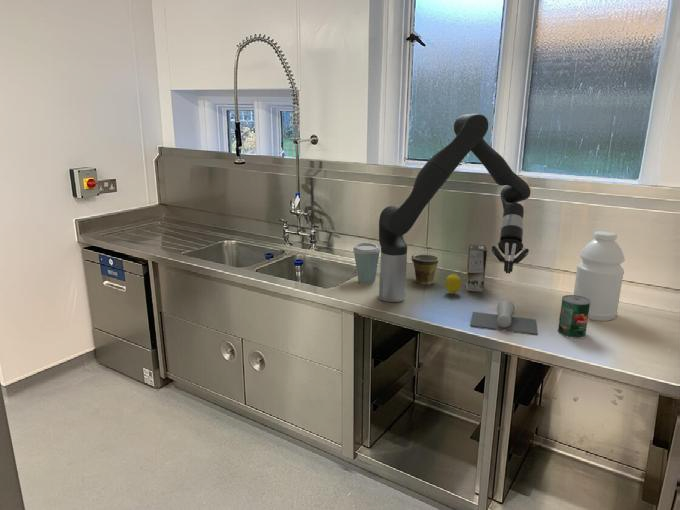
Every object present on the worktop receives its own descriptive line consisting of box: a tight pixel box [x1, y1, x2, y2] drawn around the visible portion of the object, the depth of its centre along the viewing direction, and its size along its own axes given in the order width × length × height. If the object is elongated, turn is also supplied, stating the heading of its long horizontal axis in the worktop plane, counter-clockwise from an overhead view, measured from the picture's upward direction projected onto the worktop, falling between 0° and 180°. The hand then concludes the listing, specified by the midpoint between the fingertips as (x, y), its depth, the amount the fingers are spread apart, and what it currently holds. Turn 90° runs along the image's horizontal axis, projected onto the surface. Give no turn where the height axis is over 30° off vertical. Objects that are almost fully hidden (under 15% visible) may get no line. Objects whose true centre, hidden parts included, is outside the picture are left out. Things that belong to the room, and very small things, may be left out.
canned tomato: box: [557, 294, 590, 339], centre depth 159 cm, size 8×8×11 cm
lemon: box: [445, 273, 462, 295], centre depth 192 cm, size 6×6×8 cm
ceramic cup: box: [411, 253, 440, 286], centre depth 207 cm, size 13×10×10 cm
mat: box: [469, 311, 538, 336], centre depth 167 cm, size 12×20×1 cm, turn 72°
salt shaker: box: [496, 299, 516, 328], centre depth 167 cm, size 6×6×13 cm
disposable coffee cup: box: [352, 241, 381, 285], centre depth 204 cm, size 11×11×15 cm
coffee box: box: [465, 244, 488, 293], centre depth 199 cm, size 9×6×16 cm
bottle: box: [573, 230, 626, 322], centre depth 172 cm, size 14×14×28 cm
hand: (508, 272), depth 179 cm, fingers closed
